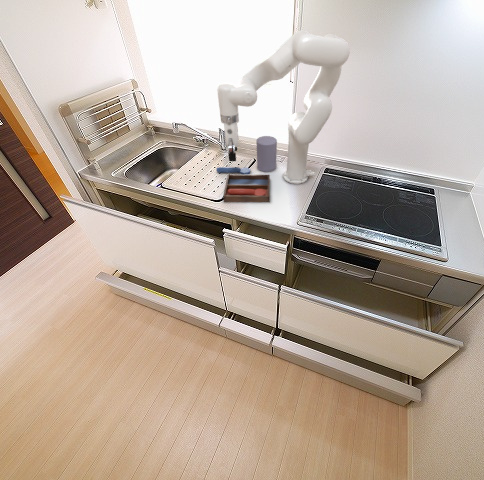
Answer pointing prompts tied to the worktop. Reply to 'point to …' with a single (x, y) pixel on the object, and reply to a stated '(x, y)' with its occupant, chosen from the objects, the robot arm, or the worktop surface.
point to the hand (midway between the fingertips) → (233, 155)
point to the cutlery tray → (247, 187)
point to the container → (266, 153)
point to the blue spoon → (233, 170)
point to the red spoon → (246, 192)
